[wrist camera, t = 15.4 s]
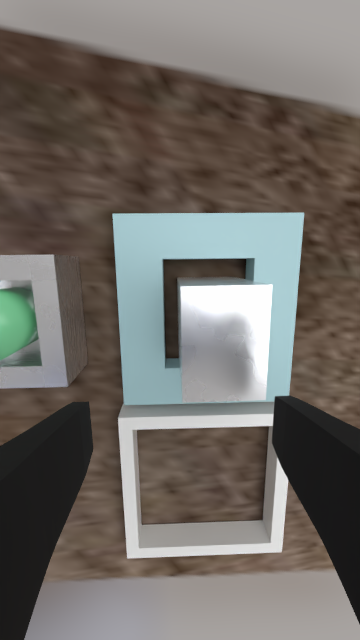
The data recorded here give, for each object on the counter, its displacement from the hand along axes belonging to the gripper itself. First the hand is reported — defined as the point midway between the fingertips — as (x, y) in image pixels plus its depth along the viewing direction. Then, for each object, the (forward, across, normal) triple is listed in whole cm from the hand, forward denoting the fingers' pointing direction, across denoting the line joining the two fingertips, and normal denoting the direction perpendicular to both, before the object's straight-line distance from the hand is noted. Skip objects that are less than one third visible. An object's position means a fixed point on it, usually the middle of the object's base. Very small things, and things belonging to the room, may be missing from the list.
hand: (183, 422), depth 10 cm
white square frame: (+10, -2, +11) cm, 16 cm away
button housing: (+10, +11, -3) cm, 15 cm away
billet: (+10, -2, -2) cm, 11 cm away
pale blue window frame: (+10, -2, -3) cm, 11 cm away
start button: (+9, +11, -3) cm, 14 cm away
